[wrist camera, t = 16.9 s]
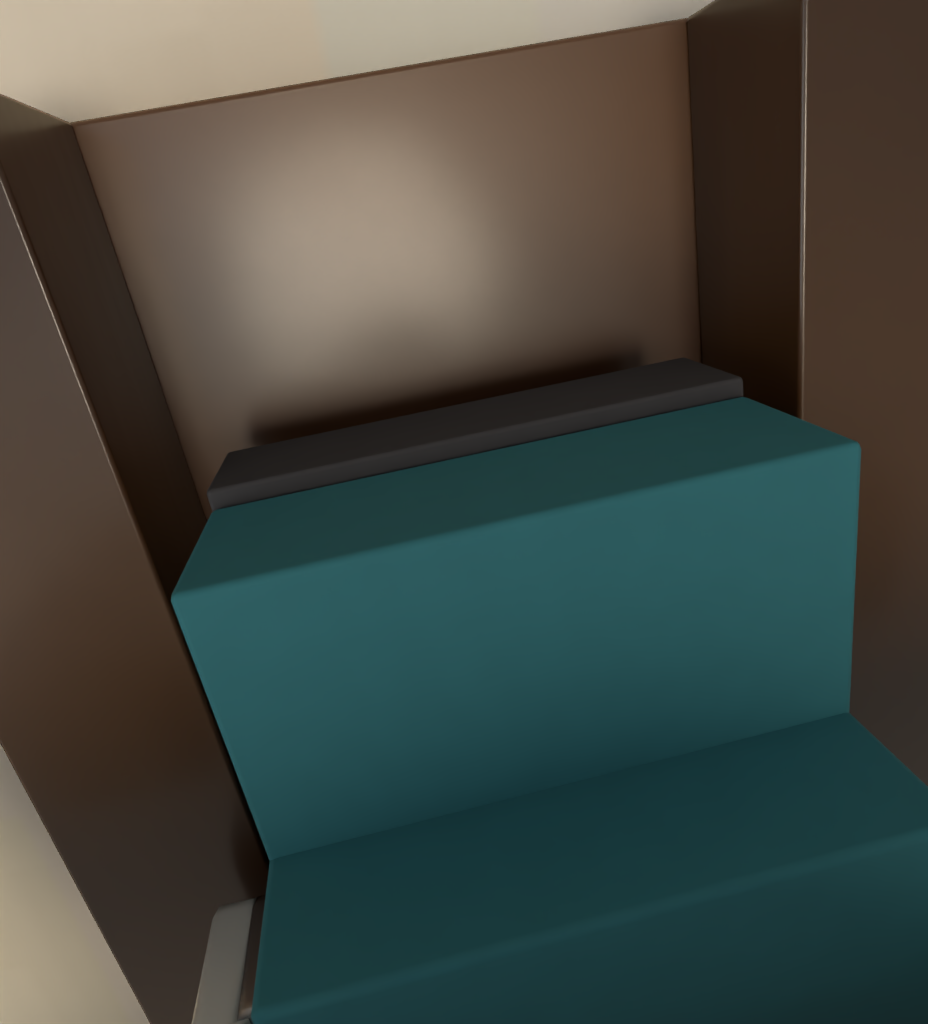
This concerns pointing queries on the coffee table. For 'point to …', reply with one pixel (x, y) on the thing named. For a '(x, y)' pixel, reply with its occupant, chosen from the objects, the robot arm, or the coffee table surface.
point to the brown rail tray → (422, 357)
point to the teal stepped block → (560, 715)
